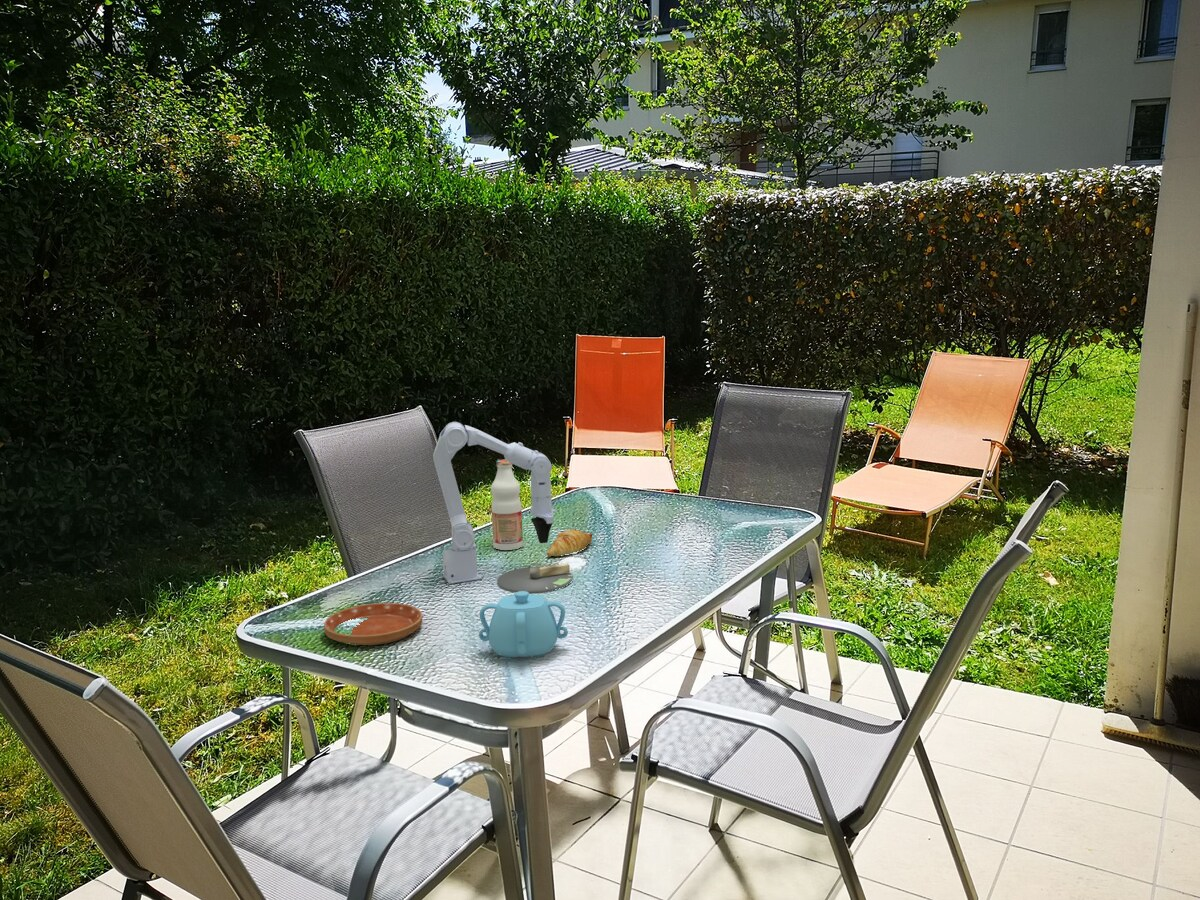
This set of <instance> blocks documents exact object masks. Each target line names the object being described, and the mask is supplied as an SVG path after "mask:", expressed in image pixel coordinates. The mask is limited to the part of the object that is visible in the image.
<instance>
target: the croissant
mask: <svg viewBox="0 0 1200 900" xmlns="http://www.w3.org/2000/svg"><path fill="white" fill-rule="evenodd" d="M592 541H593V535H592V534H591V533H587V532H583V531H580V530H579V529H574V528H573V529H567V530H564V531H562V532H560V533H559V534H557V536H556V538H554V540H553V543H552V544H551V545H549V549H547V551H546V555H547V557H550V558H552V557H551V556H561V555H565V554H570V553H573V552H577V551H580V550H582V549H584V548H585V547H586V546H587V545H588V544H589V543H590V542H592ZM590 544H591V543H590ZM590 544H589V545H590ZM589 545H588V546H589ZM588 546H587V547H588ZM587 547H586V548H587ZM561 557H562V556H561Z"/></svg>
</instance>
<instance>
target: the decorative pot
mask: <svg viewBox="0 0 1200 900" xmlns="http://www.w3.org/2000/svg"><path fill="white" fill-rule="evenodd" d="M551 607H556V608H558V609H559V610H560V615H559V619H558V622H557V620H556V617H555V615H554V611H553V610H552V608H551ZM488 609H492V610H493V609H494V611H493V614H492V616H491V619H490V623H489V624H488V621H487V620H486V617H485V611H487V610H488ZM565 617H566V608H565V606H564V604H562V603H561V602H559V601H556V600H552V601H551V600H550V601H548V600H547V599H546V597H545V596H543V595H540V594H535V593H529V592H526V591H519V592H514V594H511V595H506V596H503V597H501V598H500V599H499V600H498V602H497V603H492V602H491V603H490V602H489V603H487V604H485V605H483V606H482V607H481V609H480V611H479V619H480V621H481V624H482V627H483V628H482V629H481V630H479V632H478V638H479V639H480V640H481V641H483V642H488V643H489V646H490V648H491V649H492V650H493V651H494V653H495V654H496V655H499V656H503V657H502V658H503V659H506V660H511V659H514V658H524V657H525V658H526V657H532V658H535V659H538V658H542V657H544V655H545V654H547V653H549V652H551V651H552V650H553V648H554V646H555V645H556V643H557V641H558V639H560V640H562V639H565V638H566V637H567V636H568V634H569V633H568V632H569V631H568V629H567V627H565V626H563V623H564V621H565ZM561 631H563V633H561ZM484 633H486V635H484Z"/></svg>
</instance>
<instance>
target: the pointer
mask: <svg viewBox="0 0 1200 900" xmlns="http://www.w3.org/2000/svg"><path fill="white" fill-rule="evenodd" d="M539 567H540V568H539ZM570 569H571V568H570V564H569V563H561V564H555V565H548V566H532V568H530V578H539V577H543V576H550V575H556V574H563V573H571V572H570V571H571V570H570Z"/></svg>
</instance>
